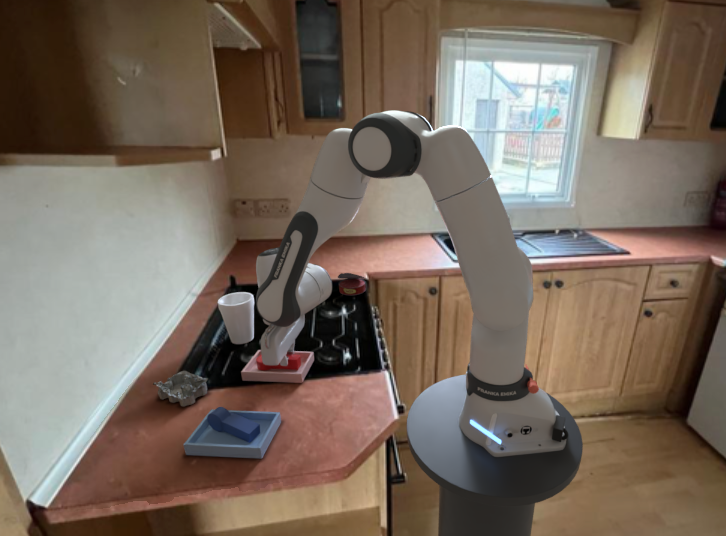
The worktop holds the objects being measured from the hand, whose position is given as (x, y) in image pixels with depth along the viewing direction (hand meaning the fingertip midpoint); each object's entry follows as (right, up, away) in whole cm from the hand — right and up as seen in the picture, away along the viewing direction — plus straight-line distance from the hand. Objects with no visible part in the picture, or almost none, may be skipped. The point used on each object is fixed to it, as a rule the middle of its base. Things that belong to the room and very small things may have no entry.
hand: (287, 360), depth 105 cm
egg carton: (-22, -6, -8) cm, 24 cm away
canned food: (+9, +16, +50) cm, 53 cm away
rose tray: (-2, -3, +1) cm, 4 cm away
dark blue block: (-5, -9, -22) cm, 25 cm away
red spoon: (-3, -2, +1) cm, 3 cm away
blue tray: (-4, -11, -21) cm, 24 cm away
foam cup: (-18, +3, +16) cm, 25 cm away
